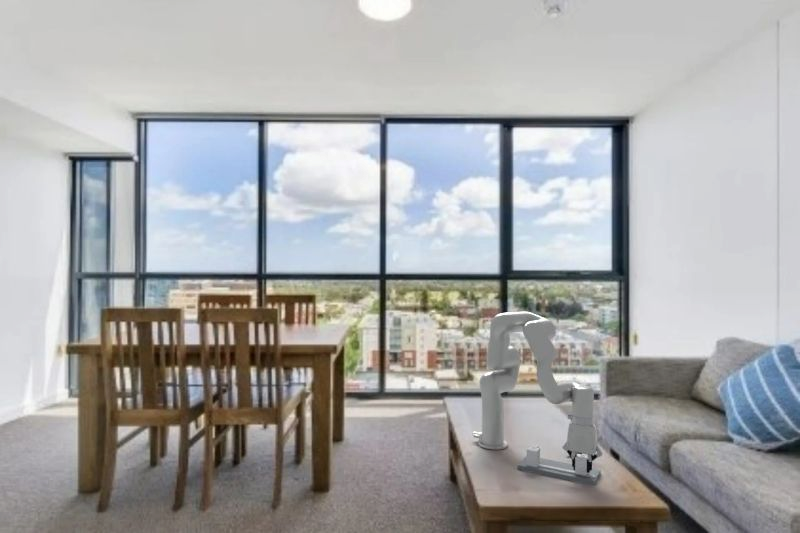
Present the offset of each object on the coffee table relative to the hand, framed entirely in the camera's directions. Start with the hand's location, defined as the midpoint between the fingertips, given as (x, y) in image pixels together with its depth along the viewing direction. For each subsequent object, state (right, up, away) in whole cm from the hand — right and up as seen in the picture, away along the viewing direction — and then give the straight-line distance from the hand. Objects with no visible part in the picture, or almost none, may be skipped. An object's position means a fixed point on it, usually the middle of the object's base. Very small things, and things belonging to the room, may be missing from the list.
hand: (582, 469), depth 189 cm
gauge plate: (-6, -3, +7) cm, 10 cm away
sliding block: (+1, -1, +1) cm, 2 cm away
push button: (+5, -3, +22) cm, 23 cm away
